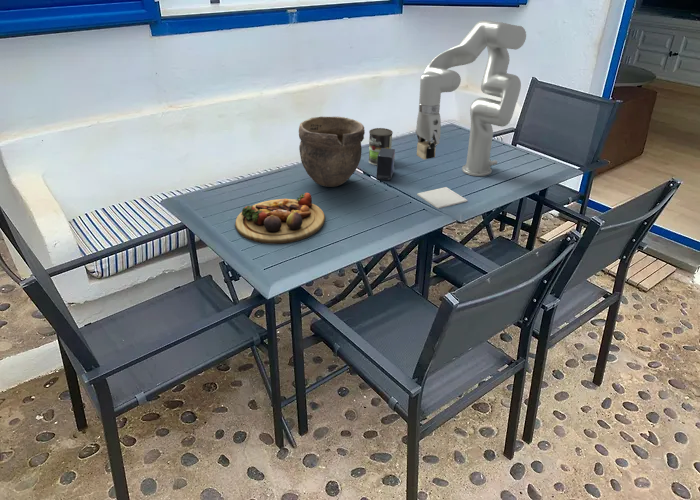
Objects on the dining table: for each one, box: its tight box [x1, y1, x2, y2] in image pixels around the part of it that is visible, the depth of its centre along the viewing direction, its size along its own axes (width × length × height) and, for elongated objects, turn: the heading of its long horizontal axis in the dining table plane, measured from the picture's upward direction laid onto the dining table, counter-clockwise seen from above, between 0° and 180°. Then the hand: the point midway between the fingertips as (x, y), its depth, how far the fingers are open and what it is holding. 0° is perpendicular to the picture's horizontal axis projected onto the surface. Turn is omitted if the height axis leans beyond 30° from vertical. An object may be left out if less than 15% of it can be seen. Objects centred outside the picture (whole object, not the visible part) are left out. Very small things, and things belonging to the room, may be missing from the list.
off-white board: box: [416, 186, 468, 209], centre depth 214 cm, size 14×14×1 cm
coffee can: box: [368, 127, 394, 166], centre depth 244 cm, size 10×10×14 cm
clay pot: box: [298, 116, 366, 188], centre depth 220 cm, size 26×26×25 cm
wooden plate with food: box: [234, 192, 326, 245], centre depth 194 cm, size 32×32×8 cm
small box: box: [375, 148, 396, 181], centre depth 231 cm, size 11×6×10 cm, turn 168°
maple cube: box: [416, 140, 437, 160], centre depth 207 cm, size 5×5×5 cm
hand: (425, 155), depth 208 cm, fingers closed on maple cube, 4 cm apart
